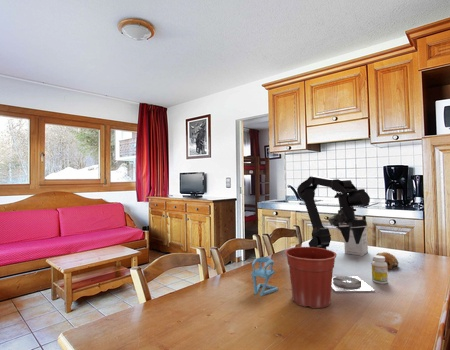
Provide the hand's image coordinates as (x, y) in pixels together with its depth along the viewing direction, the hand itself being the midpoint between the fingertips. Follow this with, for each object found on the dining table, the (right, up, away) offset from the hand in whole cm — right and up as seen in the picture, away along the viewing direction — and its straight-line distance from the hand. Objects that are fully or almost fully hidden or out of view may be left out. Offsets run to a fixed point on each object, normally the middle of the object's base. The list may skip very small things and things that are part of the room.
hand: (352, 243), depth 122 cm
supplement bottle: (+5, -12, -12) cm, 18 cm away
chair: (-41, -13, -19) cm, 47 cm away
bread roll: (+18, -12, +5) cm, 22 cm away
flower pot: (-26, -13, -28) cm, 40 cm away
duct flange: (-9, -12, -15) cm, 21 cm away
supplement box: (+15, -12, +29) cm, 35 cm away
